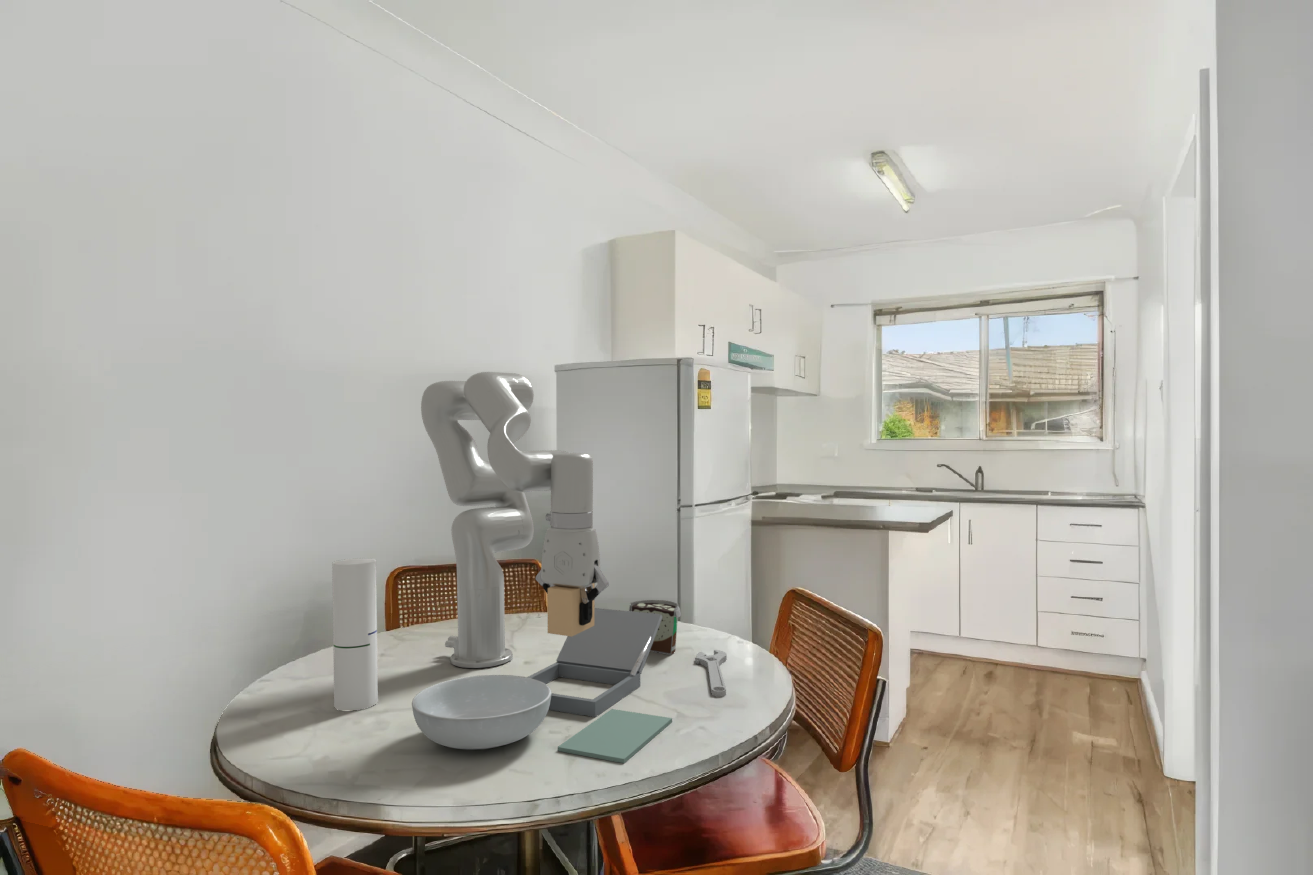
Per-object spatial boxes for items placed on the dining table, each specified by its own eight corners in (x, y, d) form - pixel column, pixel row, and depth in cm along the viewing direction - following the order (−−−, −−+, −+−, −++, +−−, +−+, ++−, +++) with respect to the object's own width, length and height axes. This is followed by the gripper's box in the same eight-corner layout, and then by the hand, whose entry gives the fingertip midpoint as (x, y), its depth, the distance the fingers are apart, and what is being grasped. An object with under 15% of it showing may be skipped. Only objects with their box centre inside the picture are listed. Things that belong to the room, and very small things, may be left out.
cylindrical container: (386, 699, 136) (384, 558, 136) (358, 713, 129) (356, 565, 129) (353, 695, 138) (352, 557, 138) (324, 708, 132) (322, 563, 132)
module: (547, 633, 135) (547, 588, 135) (571, 622, 142) (571, 579, 142) (571, 636, 133) (572, 590, 133) (594, 625, 140) (594, 582, 140)
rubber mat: (557, 750, 112) (557, 746, 112) (611, 712, 128) (611, 708, 128) (624, 763, 108) (624, 758, 108) (672, 721, 123) (672, 717, 123)
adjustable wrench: (727, 699, 135) (727, 689, 135) (690, 699, 136) (690, 689, 135) (726, 657, 160) (726, 649, 160) (696, 657, 160) (695, 649, 160)
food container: (692, 648, 166) (691, 602, 166) (677, 655, 161) (676, 608, 161) (644, 641, 172) (644, 597, 172) (629, 647, 167) (628, 602, 167)
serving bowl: (562, 756, 111) (561, 708, 111) (410, 776, 105) (410, 726, 105) (541, 707, 131) (541, 667, 131) (413, 722, 125) (413, 680, 125)
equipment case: (505, 702, 133) (504, 638, 133) (583, 660, 158) (583, 606, 158) (595, 717, 126) (594, 648, 126) (663, 670, 151) (662, 613, 151)
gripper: (520, 520, 138) (520, 621, 138) (603, 526, 130) (603, 632, 131) (543, 516, 144) (542, 612, 145) (623, 521, 137) (623, 622, 138)
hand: (571, 620), depth 138 cm, fingers closed on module, 5 cm apart
